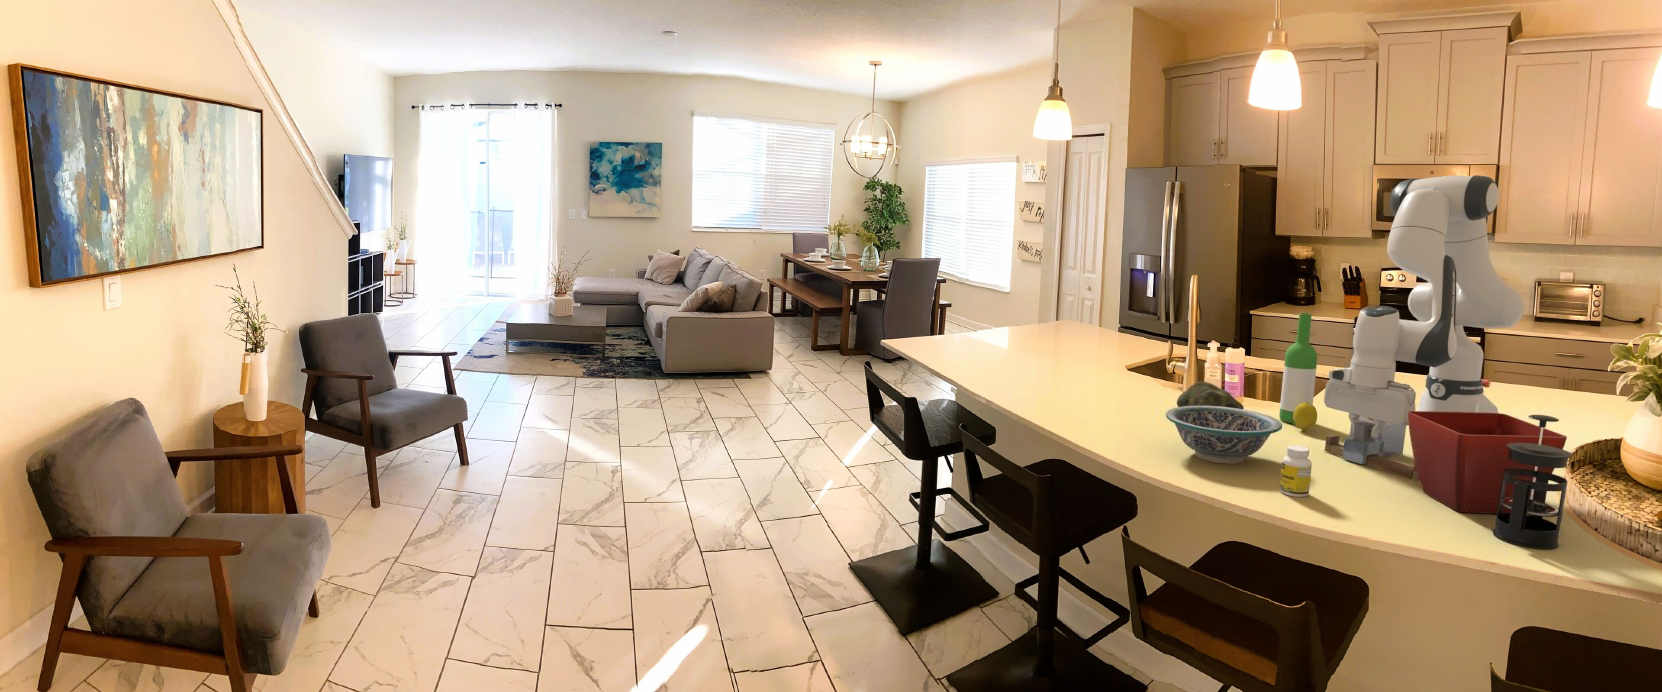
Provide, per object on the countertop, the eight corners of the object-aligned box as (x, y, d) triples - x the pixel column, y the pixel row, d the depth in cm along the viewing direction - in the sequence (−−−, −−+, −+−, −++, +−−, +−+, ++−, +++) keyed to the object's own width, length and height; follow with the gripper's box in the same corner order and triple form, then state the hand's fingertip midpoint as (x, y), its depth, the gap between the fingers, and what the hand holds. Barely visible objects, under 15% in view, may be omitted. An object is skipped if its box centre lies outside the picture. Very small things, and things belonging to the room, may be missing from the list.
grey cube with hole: (1371, 445, 213) (1375, 414, 212) (1402, 454, 206) (1406, 422, 204) (1347, 449, 210) (1351, 417, 209) (1378, 458, 203) (1382, 425, 201)
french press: (1505, 525, 162) (1523, 406, 158) (1568, 541, 154) (1588, 417, 150) (1480, 538, 155) (1497, 415, 151) (1544, 556, 148) (1564, 427, 144)
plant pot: (1396, 485, 184) (1405, 409, 181) (1491, 489, 182) (1502, 412, 179) (1450, 518, 165) (1461, 434, 162) (1557, 523, 163) (1570, 437, 160)
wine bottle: (1293, 426, 231) (1304, 316, 226) (1272, 418, 239) (1282, 312, 233) (1317, 424, 233) (1329, 315, 228) (1295, 417, 240) (1306, 311, 235)
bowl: (1269, 448, 211) (1273, 410, 209) (1286, 479, 188) (1291, 436, 186) (1161, 438, 219) (1164, 401, 217) (1164, 466, 196) (1167, 426, 194)
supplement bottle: (1273, 489, 181) (1278, 444, 179) (1298, 488, 181) (1302, 444, 180) (1289, 498, 176) (1294, 452, 174) (1314, 497, 176) (1319, 451, 174)
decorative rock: (1216, 408, 250) (1219, 375, 248) (1249, 422, 235) (1252, 387, 233) (1168, 410, 248) (1171, 376, 246) (1198, 424, 233) (1201, 388, 231)
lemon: (1318, 434, 223) (1321, 404, 222) (1295, 433, 224) (1298, 403, 223) (1311, 428, 228) (1314, 399, 227) (1289, 427, 230) (1292, 398, 228)
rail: (1333, 450, 209) (1335, 434, 208) (1426, 478, 188) (1429, 461, 187) (1324, 451, 208) (1326, 435, 207) (1417, 480, 187) (1419, 462, 186)
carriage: (1361, 455, 204) (1365, 419, 202) (1381, 461, 199) (1386, 424, 198) (1342, 458, 202) (1346, 422, 200) (1362, 464, 197) (1366, 427, 196)
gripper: (1426, 385, 189) (1418, 445, 191) (1341, 368, 208) (1335, 423, 210) (1406, 387, 186) (1398, 448, 189) (1322, 369, 205) (1316, 425, 208)
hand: (1364, 435), depth 200 cm, fingers closed on carriage, 2 cm apart
